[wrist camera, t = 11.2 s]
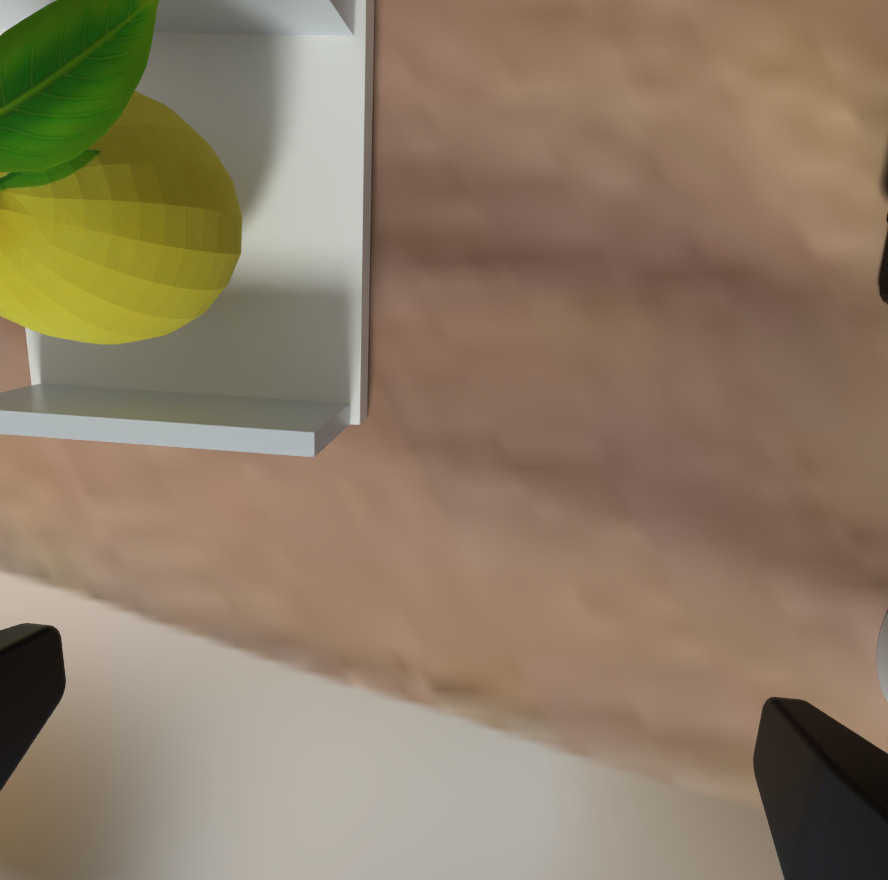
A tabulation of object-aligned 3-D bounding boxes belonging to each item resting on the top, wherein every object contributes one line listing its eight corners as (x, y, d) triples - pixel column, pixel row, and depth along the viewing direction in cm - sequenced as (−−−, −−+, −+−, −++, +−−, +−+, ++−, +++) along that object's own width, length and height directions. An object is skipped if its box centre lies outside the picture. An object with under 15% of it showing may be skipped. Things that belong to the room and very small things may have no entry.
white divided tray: (382, -479, 15) (329, -791, 10) (367, 417, 20) (326, 458, 16) (-33, -458, 16) (-242, -737, 11) (55, 396, 21) (-65, 428, 16)
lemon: (295, 97, 17) (11, -132, 7) (313, 327, 18) (96, 388, 9) (53, 112, 18) (-497, -78, 8) (89, 332, 19) (-341, 394, 9)
